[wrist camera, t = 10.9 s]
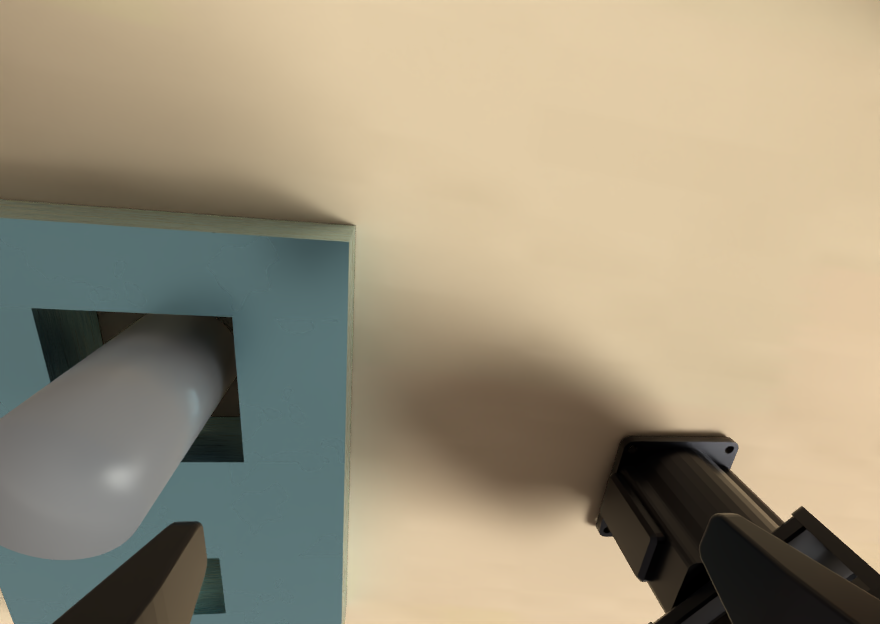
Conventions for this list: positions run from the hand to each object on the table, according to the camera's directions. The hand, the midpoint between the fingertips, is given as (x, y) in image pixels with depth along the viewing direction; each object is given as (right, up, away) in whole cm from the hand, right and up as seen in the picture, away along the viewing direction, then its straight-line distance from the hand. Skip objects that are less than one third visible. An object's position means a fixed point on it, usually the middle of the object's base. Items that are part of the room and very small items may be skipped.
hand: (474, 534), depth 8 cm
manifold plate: (-12, -3, +13) cm, 18 cm away
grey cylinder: (-11, +2, +11) cm, 16 cm away
